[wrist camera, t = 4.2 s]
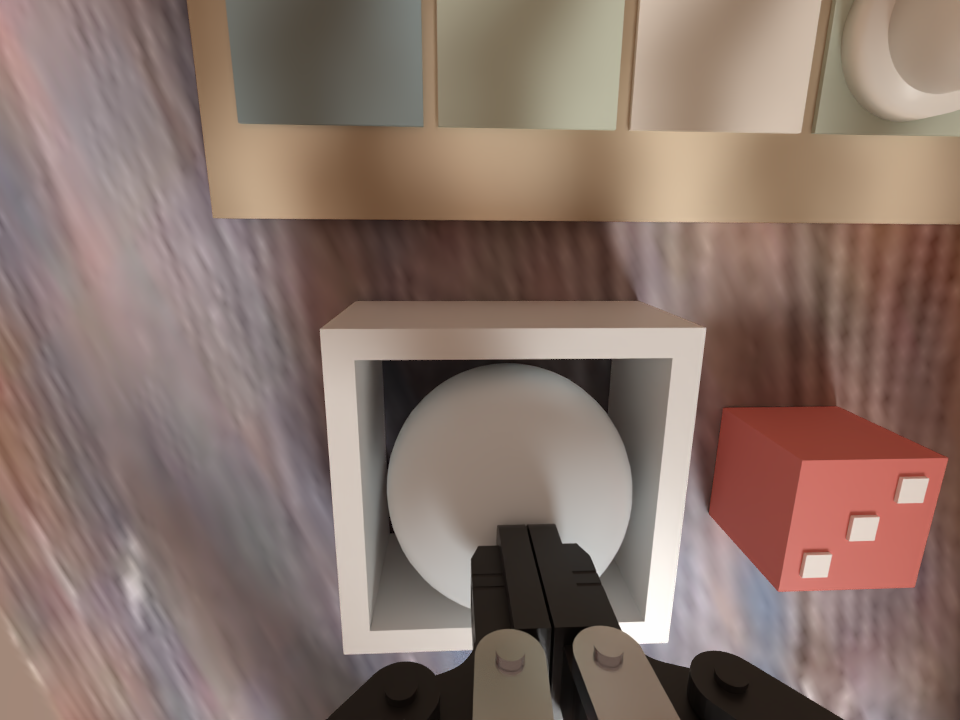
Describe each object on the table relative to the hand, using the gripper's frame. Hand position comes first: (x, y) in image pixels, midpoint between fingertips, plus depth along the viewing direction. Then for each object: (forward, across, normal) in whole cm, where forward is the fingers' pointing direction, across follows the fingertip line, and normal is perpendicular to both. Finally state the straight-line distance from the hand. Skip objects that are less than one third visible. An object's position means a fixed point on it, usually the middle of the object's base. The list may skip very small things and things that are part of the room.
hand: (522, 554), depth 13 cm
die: (+8, -12, +2) cm, 15 cm away
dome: (+8, 0, 0) cm, 8 cm away
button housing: (+8, 0, 0) cm, 8 cm away
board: (+8, -4, -14) cm, 17 cm away
